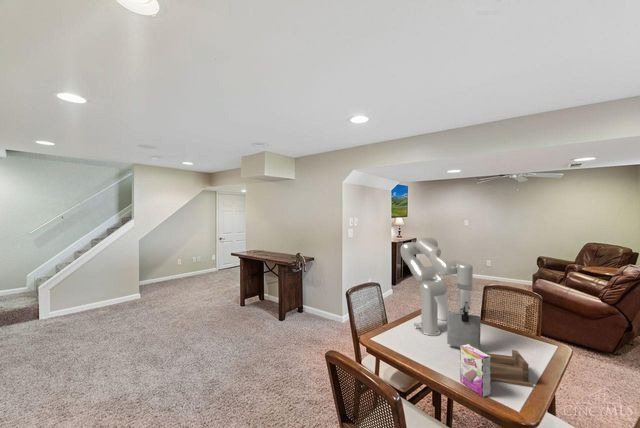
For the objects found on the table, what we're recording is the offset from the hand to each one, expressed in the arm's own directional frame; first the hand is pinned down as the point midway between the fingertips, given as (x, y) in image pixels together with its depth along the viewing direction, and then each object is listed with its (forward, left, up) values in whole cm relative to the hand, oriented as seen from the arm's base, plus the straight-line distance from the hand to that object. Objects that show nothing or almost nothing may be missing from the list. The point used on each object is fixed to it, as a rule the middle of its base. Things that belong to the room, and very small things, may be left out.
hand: (463, 319), depth 146 cm
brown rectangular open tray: (+9, -18, -17) cm, 27 cm away
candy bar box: (-3, -33, -17) cm, 38 cm away
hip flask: (0, 0, -15) cm, 15 cm away
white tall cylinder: (-6, +45, -17) cm, 48 cm away
